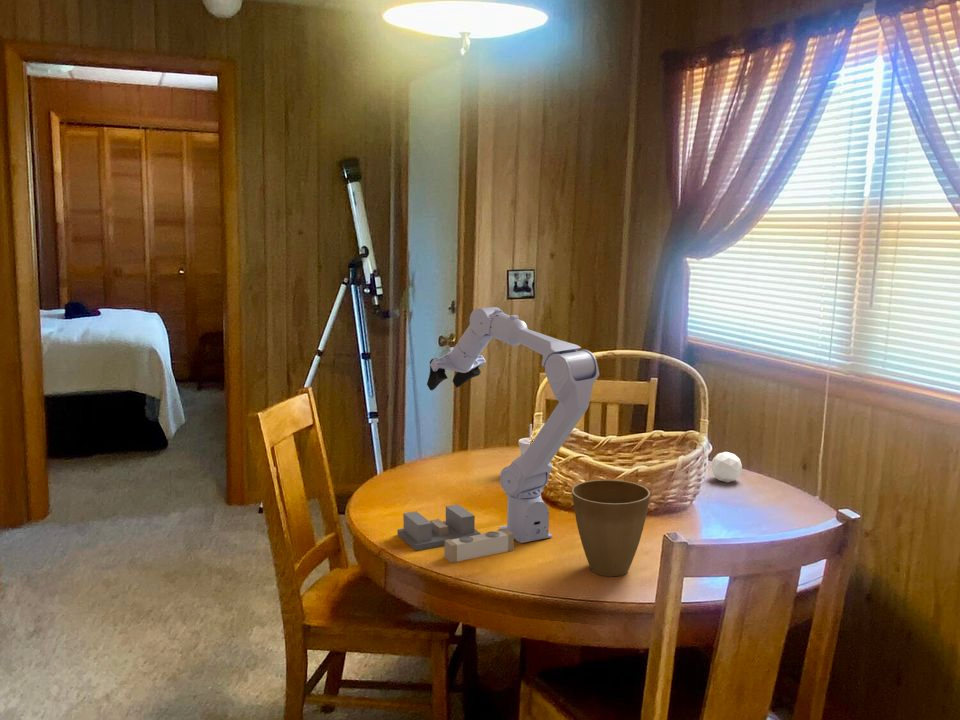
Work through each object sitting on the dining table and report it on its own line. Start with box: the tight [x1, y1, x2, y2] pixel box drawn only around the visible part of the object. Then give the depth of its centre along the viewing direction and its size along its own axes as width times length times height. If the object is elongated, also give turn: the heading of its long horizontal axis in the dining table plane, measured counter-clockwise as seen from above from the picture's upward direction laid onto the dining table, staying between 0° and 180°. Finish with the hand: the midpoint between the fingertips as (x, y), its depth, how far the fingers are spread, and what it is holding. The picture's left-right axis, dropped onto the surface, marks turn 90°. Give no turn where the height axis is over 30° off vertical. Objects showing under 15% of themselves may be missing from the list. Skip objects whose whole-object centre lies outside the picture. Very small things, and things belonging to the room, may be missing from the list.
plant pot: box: [571, 479, 651, 577], centre depth 166 cm, size 15×15×16 cm
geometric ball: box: [710, 451, 743, 483], centre depth 222 cm, size 8×8×8 cm
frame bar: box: [444, 529, 515, 564], centre depth 174 cm, size 3×14×4 cm, turn 118°
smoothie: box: [518, 423, 533, 456], centre depth 224 cm, size 6×6×14 cm
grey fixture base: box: [396, 504, 482, 551], centre depth 182 cm, size 15×10×5 cm, turn 118°
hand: (442, 385), depth 200 cm, fingers open, 7 cm apart
